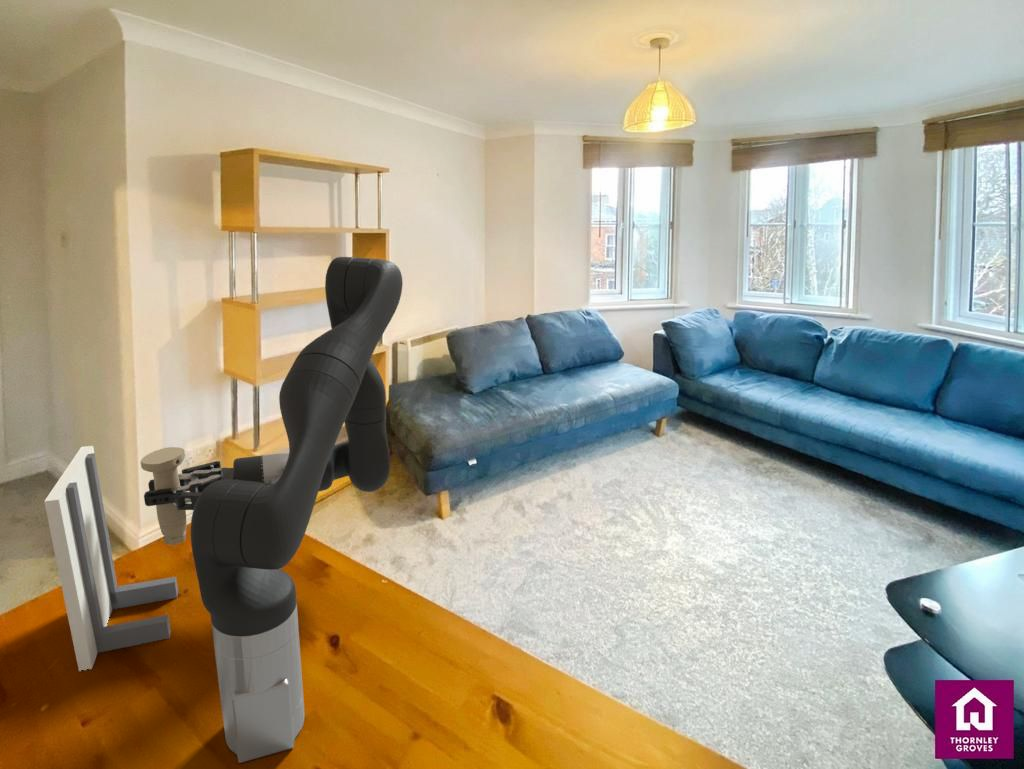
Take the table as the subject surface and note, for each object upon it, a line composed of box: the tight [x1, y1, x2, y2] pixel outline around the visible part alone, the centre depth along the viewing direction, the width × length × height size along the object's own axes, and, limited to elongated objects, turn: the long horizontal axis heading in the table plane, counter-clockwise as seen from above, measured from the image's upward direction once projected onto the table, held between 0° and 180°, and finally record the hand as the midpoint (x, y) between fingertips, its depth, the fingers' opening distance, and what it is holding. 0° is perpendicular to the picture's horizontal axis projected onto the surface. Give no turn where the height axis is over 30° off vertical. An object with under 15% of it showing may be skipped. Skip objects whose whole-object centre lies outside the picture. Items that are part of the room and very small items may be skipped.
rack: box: [44, 445, 179, 672], centre depth 88 cm, size 18×10×26 cm, turn 23°
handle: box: [140, 446, 187, 546], centre depth 94 cm, size 5×6×15 cm
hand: (147, 493), depth 92 cm, fingers closed on handle, 3 cm apart
